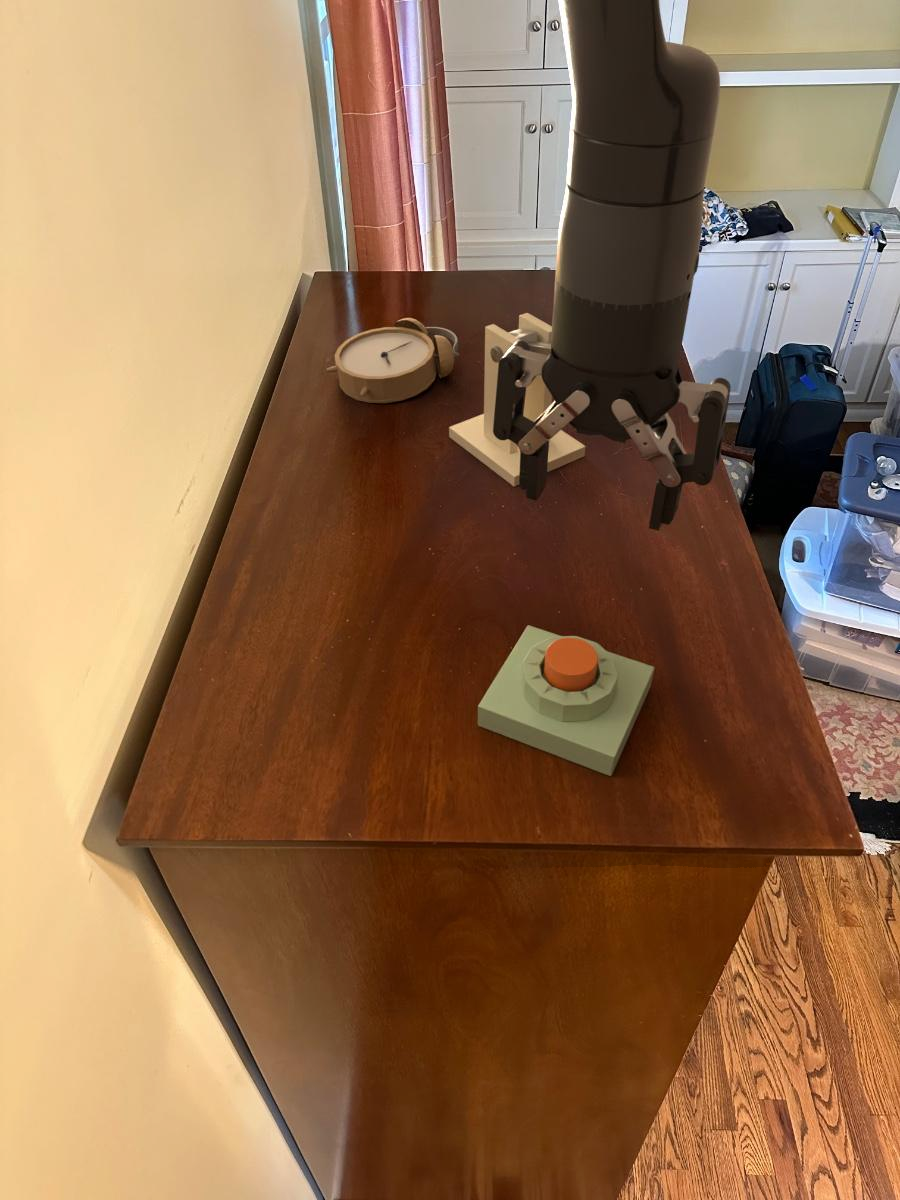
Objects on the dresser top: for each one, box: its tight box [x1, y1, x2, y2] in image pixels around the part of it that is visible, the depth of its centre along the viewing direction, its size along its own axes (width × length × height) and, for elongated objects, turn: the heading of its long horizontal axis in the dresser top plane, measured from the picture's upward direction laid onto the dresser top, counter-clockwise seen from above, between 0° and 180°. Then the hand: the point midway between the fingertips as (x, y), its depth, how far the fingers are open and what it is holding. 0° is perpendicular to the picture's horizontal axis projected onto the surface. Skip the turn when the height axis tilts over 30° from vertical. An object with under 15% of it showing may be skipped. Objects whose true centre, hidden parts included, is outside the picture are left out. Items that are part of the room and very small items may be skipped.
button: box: [544, 638, 598, 692], centre depth 60 cm, size 4×4×2 cm
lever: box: [508, 328, 551, 356], centre depth 76 cm, size 13×6×2 cm, turn 35°
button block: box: [477, 624, 655, 777], centre depth 61 cm, size 10×9×4 cm
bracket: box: [448, 312, 586, 487], centre depth 84 cm, size 11×9×13 cm
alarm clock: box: [326, 317, 460, 404], centre depth 98 cm, size 11×5×15 cm
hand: (595, 508), depth 58 cm, fingers open, 8 cm apart
